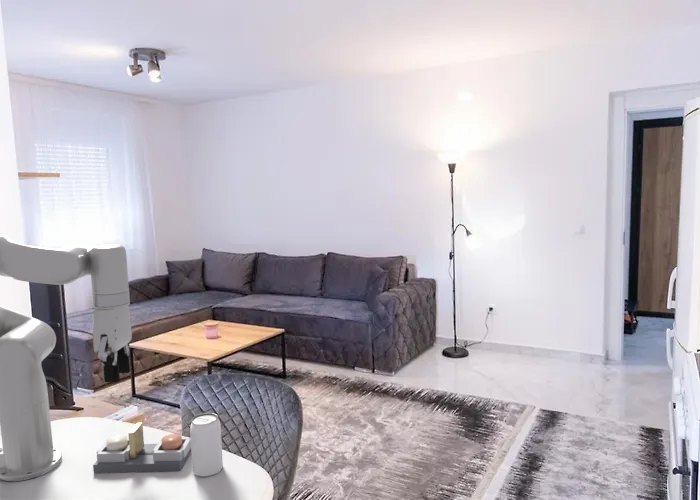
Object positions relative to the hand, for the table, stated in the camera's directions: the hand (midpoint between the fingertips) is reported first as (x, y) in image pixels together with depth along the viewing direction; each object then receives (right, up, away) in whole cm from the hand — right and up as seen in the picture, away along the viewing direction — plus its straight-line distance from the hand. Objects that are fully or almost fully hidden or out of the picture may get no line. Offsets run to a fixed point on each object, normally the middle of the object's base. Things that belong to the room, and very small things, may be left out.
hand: (117, 376), depth 121 cm
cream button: (0, -16, -1) cm, 16 cm away
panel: (+6, -20, 0) cm, 21 cm away
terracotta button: (+13, -16, -1) cm, 20 cm away
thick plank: (+5, -17, -1) cm, 18 cm away
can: (+22, -20, -4) cm, 30 cm away
